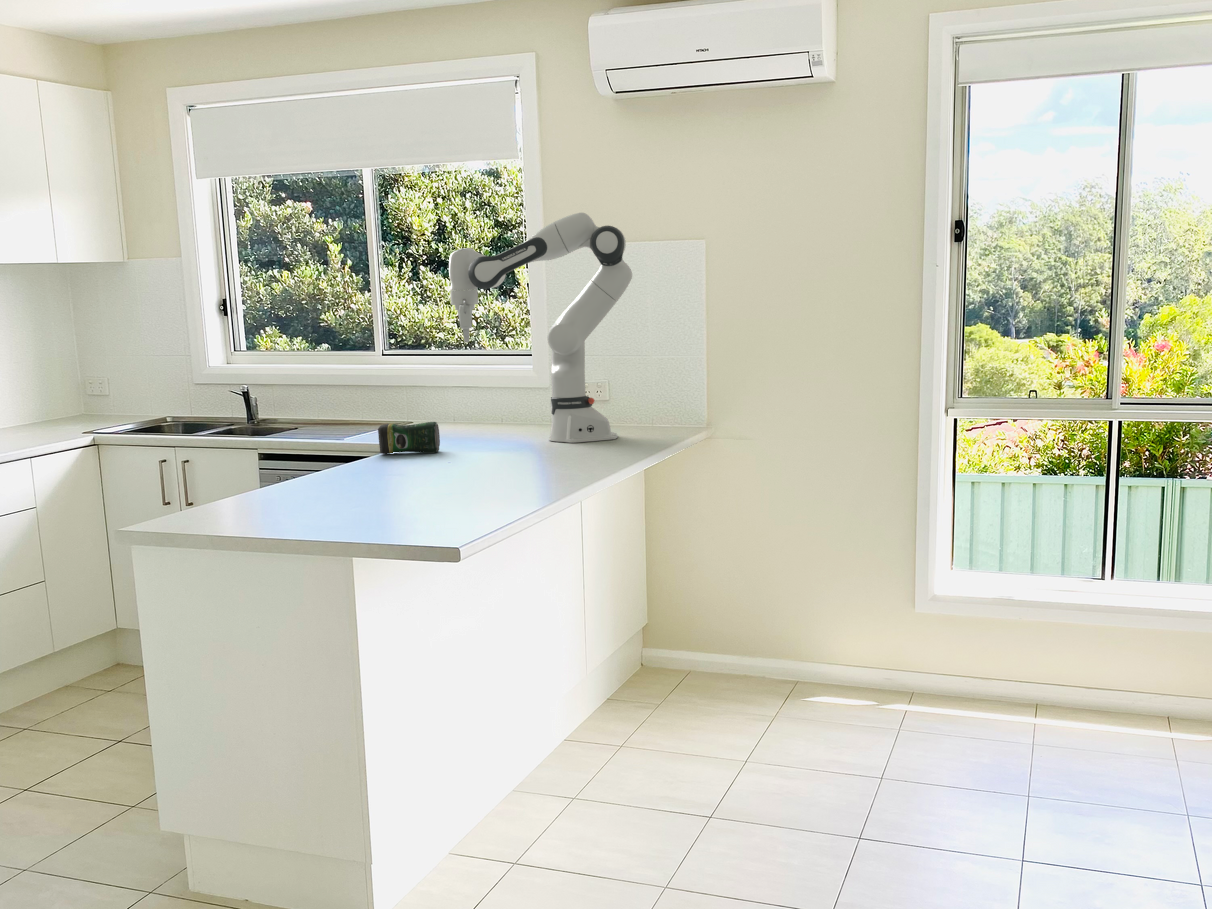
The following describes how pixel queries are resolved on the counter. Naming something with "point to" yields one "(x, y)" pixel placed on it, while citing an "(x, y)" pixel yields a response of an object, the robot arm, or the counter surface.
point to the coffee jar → (409, 438)
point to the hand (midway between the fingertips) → (466, 342)
